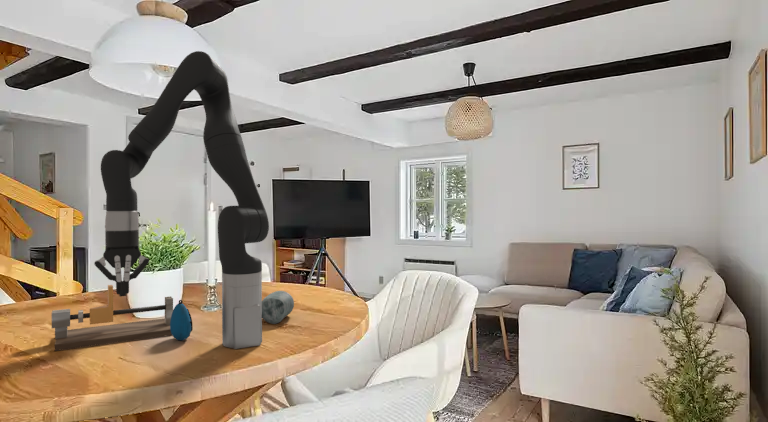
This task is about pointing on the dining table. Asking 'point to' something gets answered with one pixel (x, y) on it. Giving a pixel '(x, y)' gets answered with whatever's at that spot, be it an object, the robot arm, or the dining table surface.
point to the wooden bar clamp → (109, 328)
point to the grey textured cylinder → (277, 306)
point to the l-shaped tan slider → (103, 310)
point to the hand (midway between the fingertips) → (122, 295)
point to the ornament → (181, 322)
